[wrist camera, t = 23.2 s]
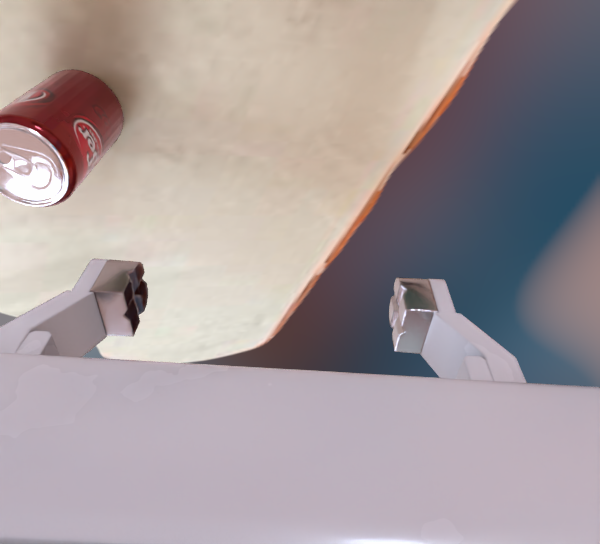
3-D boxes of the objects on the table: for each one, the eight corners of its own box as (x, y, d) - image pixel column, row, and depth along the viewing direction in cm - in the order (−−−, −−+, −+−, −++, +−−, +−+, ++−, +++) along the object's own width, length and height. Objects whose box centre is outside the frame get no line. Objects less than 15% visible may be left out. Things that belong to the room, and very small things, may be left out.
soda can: (138, 100, 43) (88, 158, 33) (108, 160, 47) (55, 226, 37) (59, 49, 40) (-19, 96, 31) (34, 116, 44) (-43, 176, 35)
